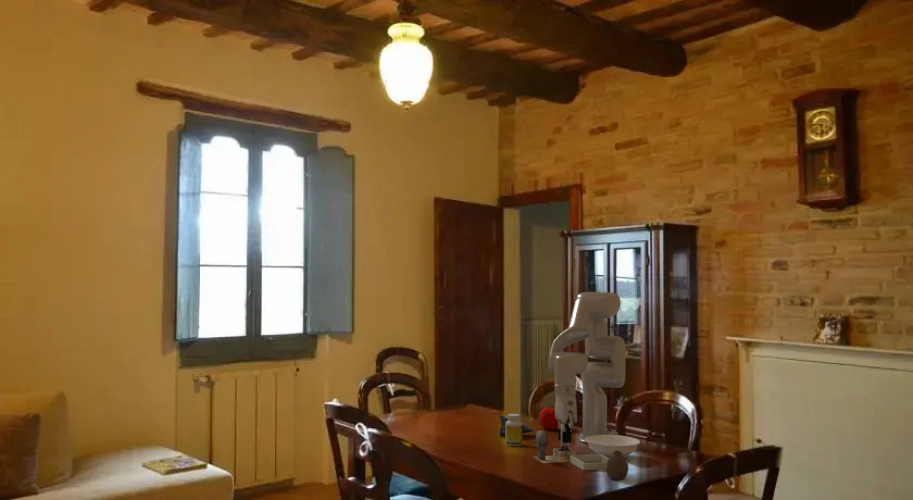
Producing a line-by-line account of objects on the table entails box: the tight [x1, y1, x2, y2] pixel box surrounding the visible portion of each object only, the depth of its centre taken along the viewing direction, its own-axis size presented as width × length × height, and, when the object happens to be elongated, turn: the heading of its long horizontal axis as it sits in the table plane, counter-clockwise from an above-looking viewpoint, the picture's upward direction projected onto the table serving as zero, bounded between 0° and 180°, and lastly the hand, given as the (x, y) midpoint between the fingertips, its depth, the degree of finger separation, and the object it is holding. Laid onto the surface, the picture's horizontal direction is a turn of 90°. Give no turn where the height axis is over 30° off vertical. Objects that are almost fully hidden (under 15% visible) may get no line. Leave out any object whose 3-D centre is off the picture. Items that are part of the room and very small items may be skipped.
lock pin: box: [558, 418, 570, 452], centre depth 278 cm, size 5×5×13 cm
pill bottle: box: [504, 413, 523, 447], centre depth 304 cm, size 6×6×12 cm
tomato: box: [538, 405, 558, 430], centre depth 339 cm, size 11×13×10 cm
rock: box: [498, 414, 535, 437], centre depth 322 cm, size 16×8×10 cm
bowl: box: [585, 434, 641, 458], centre depth 285 cm, size 20×20×6 cm
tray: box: [569, 454, 610, 474], centre depth 268 cm, size 12×12×3 cm
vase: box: [606, 451, 629, 481], centre depth 254 cm, size 7×7×9 cm
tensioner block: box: [532, 430, 577, 464], centre depth 276 cm, size 14×10×11 cm
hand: (564, 441), depth 278 cm, fingers closed on lock pin, 3 cm apart
